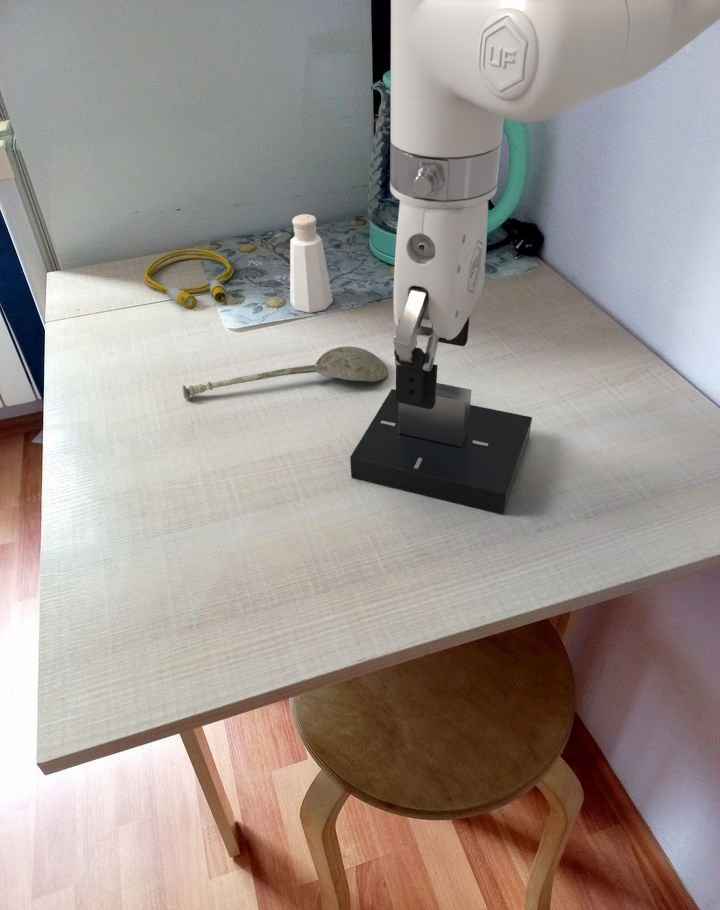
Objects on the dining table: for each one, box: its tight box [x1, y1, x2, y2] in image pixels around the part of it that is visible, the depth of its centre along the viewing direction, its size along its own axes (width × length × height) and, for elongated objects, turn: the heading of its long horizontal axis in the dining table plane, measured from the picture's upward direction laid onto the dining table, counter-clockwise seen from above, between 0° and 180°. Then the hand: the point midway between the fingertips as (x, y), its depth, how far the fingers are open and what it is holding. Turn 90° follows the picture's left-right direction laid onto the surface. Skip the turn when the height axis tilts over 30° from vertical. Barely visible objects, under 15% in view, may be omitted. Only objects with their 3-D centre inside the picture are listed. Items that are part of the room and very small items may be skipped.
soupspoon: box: [181, 346, 389, 402], centre depth 75 cm, size 22×3×7 cm
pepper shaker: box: [289, 213, 334, 314], centre depth 86 cm, size 5×5×11 cm
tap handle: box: [399, 382, 472, 447], centre depth 63 cm, size 6×2×5 cm, turn 68°
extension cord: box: [144, 248, 235, 309], centre depth 94 cm, size 12×16×2 cm
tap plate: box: [349, 388, 533, 515], centre depth 65 cm, size 14×11×3 cm
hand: (433, 371), depth 60 cm, fingers open, 9 cm apart
